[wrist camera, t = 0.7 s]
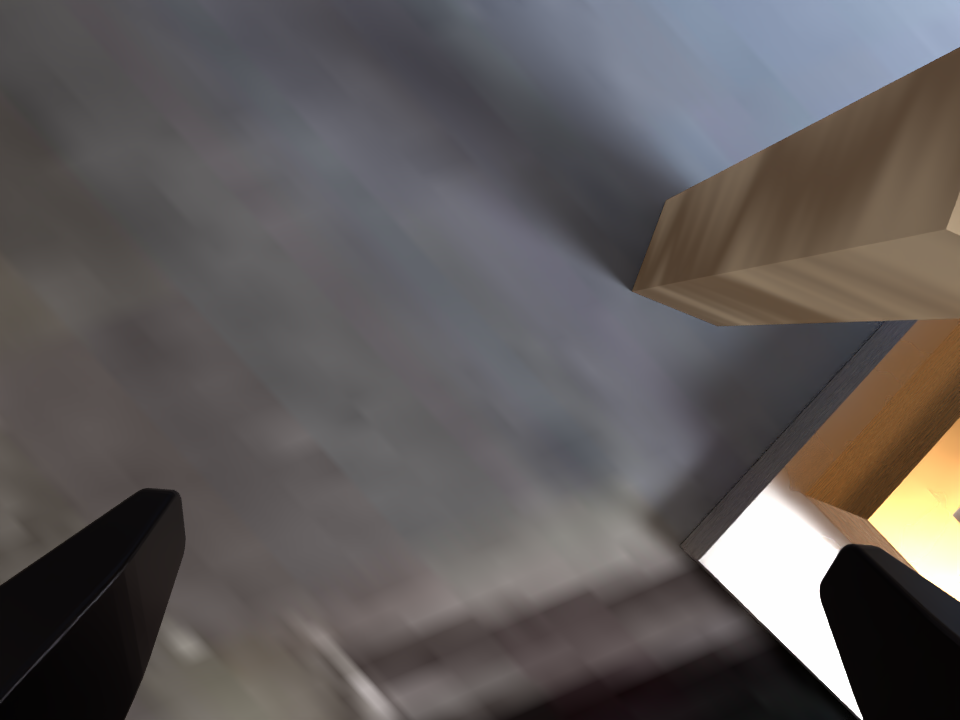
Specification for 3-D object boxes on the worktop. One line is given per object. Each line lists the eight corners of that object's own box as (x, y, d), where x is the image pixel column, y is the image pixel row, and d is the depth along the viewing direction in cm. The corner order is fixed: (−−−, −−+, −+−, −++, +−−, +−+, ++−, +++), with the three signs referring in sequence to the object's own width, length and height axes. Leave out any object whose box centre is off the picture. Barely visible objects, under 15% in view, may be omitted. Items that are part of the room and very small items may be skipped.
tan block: (717, 326, 23) (1132, 313, 10) (631, 291, 22) (946, 229, 9) (750, 237, 23) (1208, 105, 10) (665, 200, 22) (1026, 11, 9)
